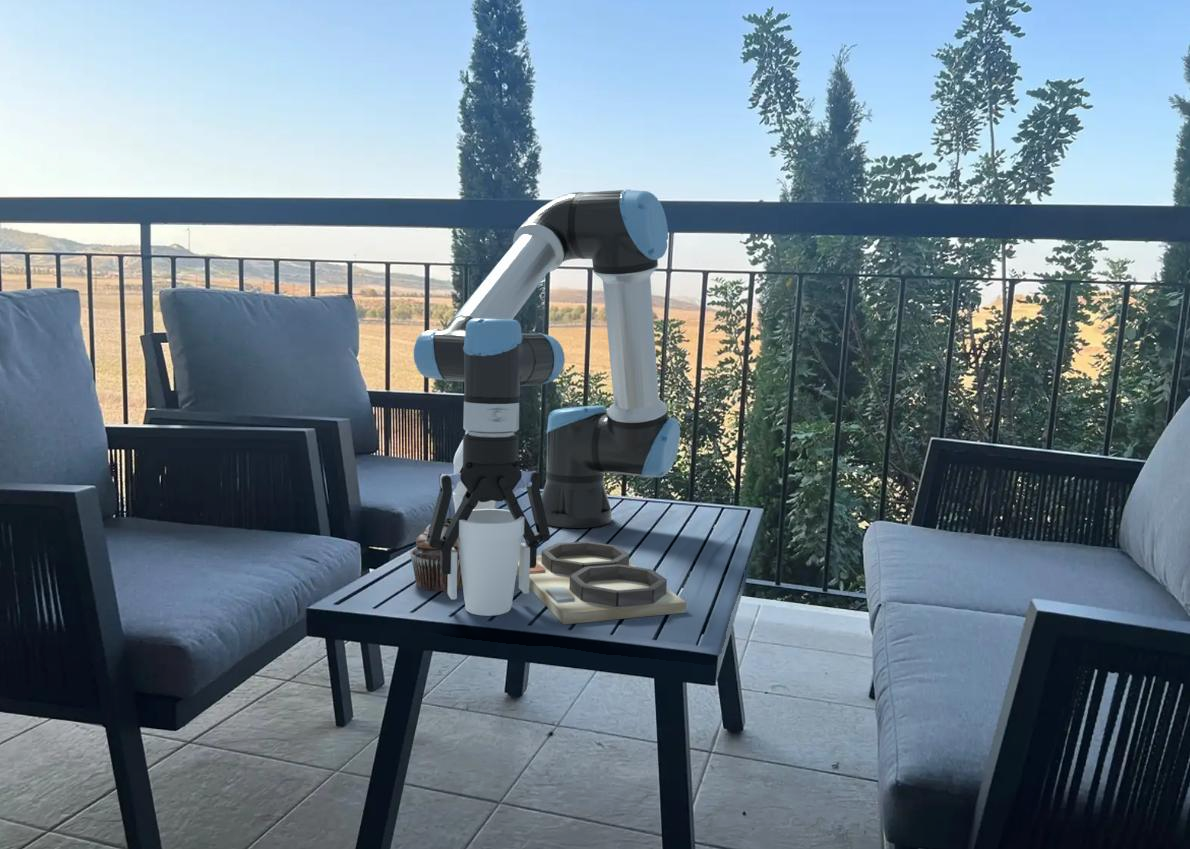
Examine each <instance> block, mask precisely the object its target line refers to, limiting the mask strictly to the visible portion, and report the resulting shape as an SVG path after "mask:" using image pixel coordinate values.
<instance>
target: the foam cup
mask: <svg viewBox="0 0 1190 849" xmlns="http://www.w3.org/2000/svg"><path fill="white" fill-rule="evenodd" d="M523 535H524V517H520V518H518V519H517V520H515V519H514V518H513V516H512V514H511V512H510V510H509V509H502V508H495V509H475V510H473V511H472V512H471V514H470V516H469V518H468V520H467V521H466V520H459V536H458V538H457V540H458V549H459V557H460V566H461V575H462V583H463V588H462V590H463V598H464V606H465V611H466V612H468V613H470V614H472V615H477V616H489V617H492V616H499V615H503V614H506V613H508V612H509V611H511V609H512V606H513V598H514V592H515V585H516V580H517V567H518V561H519V554H520V548H521V543H522V539H523Z"/></svg>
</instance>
